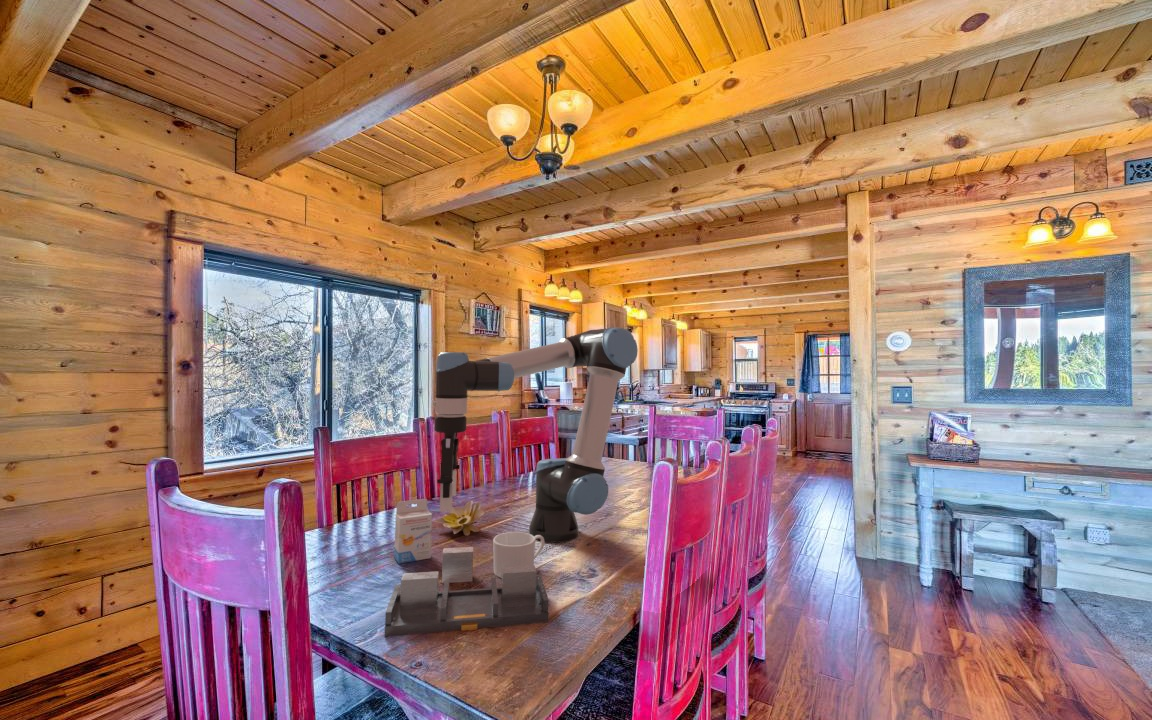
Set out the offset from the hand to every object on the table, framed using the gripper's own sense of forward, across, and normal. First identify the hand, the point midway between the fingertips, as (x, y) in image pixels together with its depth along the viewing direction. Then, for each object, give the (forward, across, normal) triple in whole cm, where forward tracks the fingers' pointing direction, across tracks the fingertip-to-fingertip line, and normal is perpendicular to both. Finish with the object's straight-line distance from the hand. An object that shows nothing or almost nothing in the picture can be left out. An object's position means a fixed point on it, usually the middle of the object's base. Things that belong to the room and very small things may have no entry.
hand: (448, 503), depth 116 cm
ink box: (+18, -13, -10) cm, 24 cm away
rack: (+18, +18, +6) cm, 26 cm away
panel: (+18, +2, +3) cm, 18 cm away
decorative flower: (+18, -33, +1) cm, 38 cm away
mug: (+18, -2, +18) cm, 25 cm away
